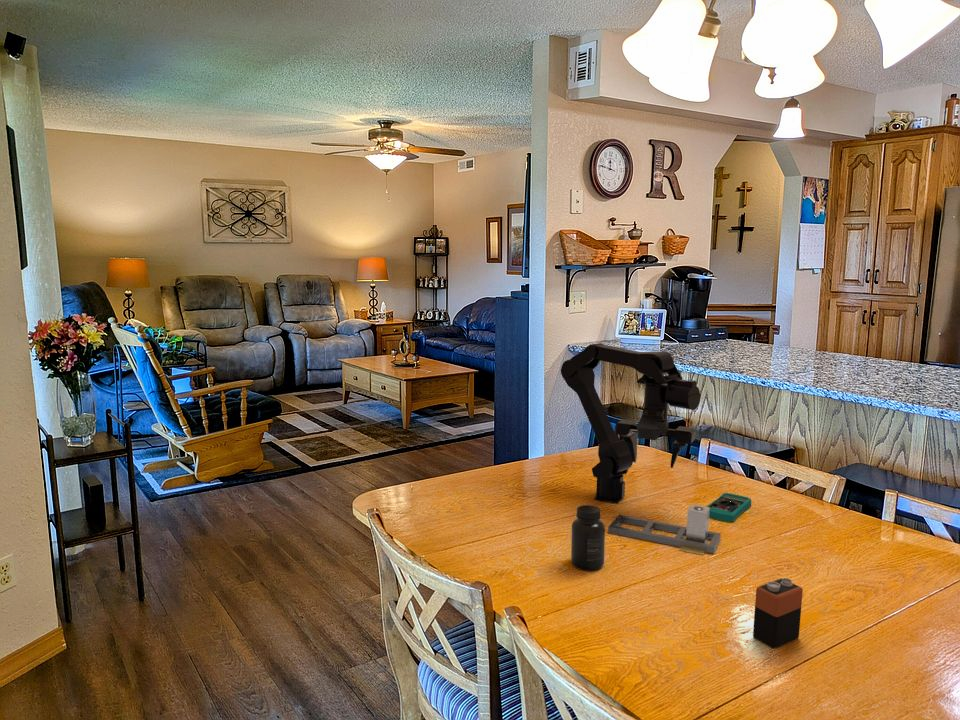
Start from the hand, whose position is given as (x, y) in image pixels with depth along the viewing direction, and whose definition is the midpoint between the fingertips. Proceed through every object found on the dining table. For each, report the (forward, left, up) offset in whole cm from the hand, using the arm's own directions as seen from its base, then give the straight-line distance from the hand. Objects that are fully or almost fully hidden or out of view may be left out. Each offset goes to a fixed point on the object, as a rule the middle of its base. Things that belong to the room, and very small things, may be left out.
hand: (653, 464), depth 169 cm
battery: (+33, -47, -12) cm, 59 cm away
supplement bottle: (-4, -36, -12) cm, 38 cm away
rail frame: (+6, -14, -12) cm, 20 cm away
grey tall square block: (+14, -14, -12) cm, 23 cm away
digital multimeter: (+17, +10, -13) cm, 23 cm away
